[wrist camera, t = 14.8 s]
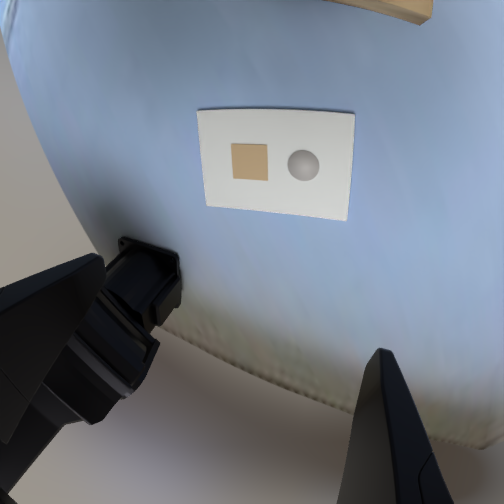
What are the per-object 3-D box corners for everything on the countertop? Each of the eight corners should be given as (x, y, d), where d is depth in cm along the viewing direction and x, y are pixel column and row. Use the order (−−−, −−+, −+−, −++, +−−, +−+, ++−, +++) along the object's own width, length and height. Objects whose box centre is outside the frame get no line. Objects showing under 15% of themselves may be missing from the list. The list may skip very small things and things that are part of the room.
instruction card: (208, 204, 23) (205, 206, 22) (198, 110, 19) (195, 111, 19) (346, 219, 20) (346, 221, 20) (354, 114, 16) (355, 114, 16)
